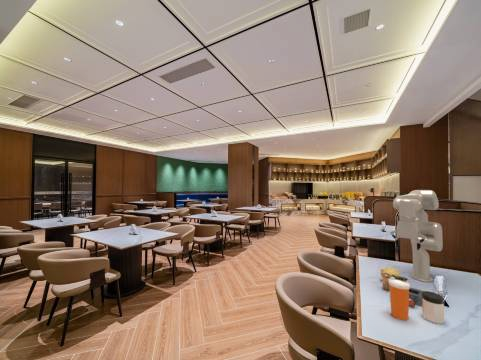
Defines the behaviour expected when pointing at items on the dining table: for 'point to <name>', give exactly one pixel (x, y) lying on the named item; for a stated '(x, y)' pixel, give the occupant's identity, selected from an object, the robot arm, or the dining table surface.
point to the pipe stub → (386, 281)
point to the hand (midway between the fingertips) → (407, 247)
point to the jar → (432, 307)
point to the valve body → (415, 297)
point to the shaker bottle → (399, 296)
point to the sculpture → (390, 271)
